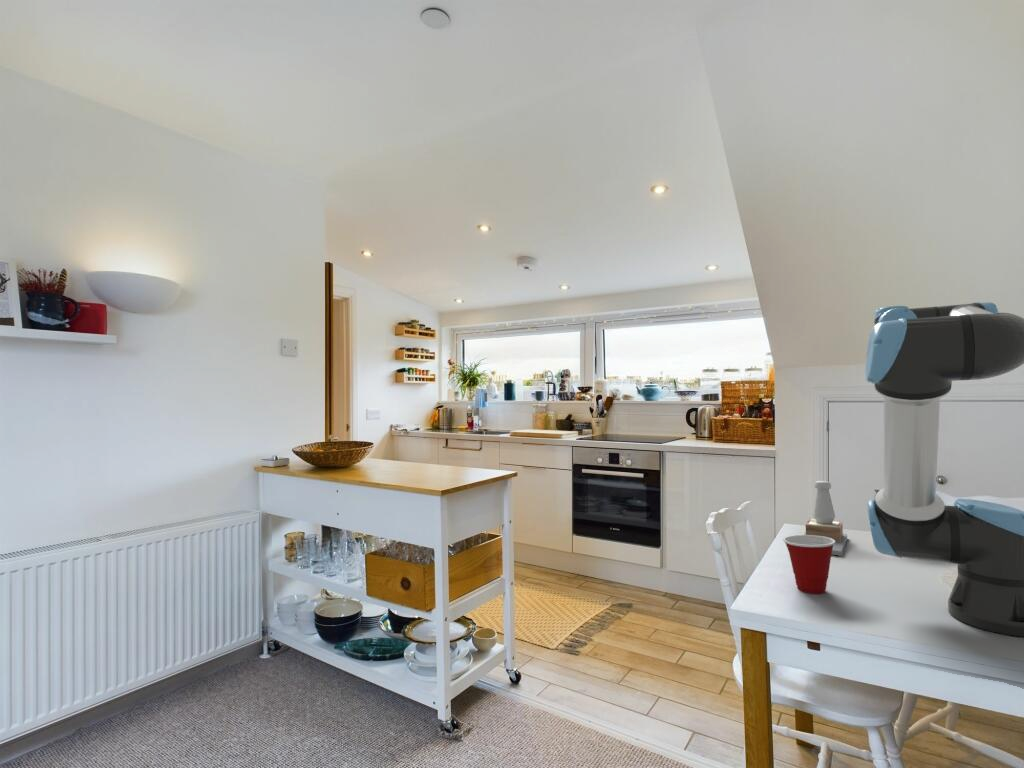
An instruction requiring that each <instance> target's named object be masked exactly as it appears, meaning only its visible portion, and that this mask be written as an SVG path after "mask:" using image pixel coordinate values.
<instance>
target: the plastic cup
mask: <svg viewBox="0 0 1024 768" xmlns="http://www.w3.org/2000/svg"><path fill="white" fill-rule="evenodd" d="M782 541H783V542H784V543H785V545H786V548H787V551H788V554H789V558H790V562H791V568H792V572H793V574H794V579H795V585H796V587H797V590H799V591H801V592H803V591H804V593H808V594H813V595H815V594H816V595H821V594H824V593H826V590H827V585H828V584H827V583H828V578H829V574H830V565H831V559H832V558H831V557H832V556H833V555H832V549H833V545H834V544H835V540H834V539H832V538H828V537H824V536H816V535H804V534H795V535H789V536H785V537H783V538H782Z"/></svg>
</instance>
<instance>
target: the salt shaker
mask: <svg viewBox="0 0 1024 768" xmlns="http://www.w3.org/2000/svg"><path fill="white" fill-rule="evenodd" d="M831 484H832V483H831V482H830V481H828V480H816V481H815V482H814V487H815V489H817V491H816V496H815V501H814V507H813V513H812V515H813V517H814V518H813V519H816V522H817V523H820V524H828V525H829V524H832V523H833V521H835V518H836V514H835V510H834V505H833V502H832V498H831V494H830V489H831V488H832V485H831Z"/></svg>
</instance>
